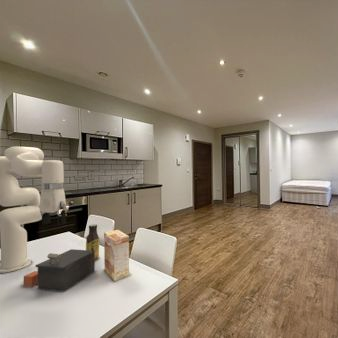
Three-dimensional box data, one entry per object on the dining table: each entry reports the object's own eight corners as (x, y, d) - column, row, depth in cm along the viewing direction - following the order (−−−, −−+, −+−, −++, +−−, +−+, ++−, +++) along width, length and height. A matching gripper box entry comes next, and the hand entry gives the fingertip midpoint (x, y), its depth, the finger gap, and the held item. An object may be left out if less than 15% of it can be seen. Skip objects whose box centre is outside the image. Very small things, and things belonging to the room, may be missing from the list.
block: (23, 286, 85) (23, 276, 85) (34, 280, 90) (34, 270, 90) (31, 286, 85) (31, 276, 85) (42, 281, 89) (42, 271, 89)
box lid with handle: (62, 269, 81) (62, 257, 81) (35, 267, 83) (35, 255, 83) (94, 252, 97) (94, 242, 97) (71, 250, 99) (71, 241, 99)
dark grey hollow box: (64, 291, 82) (64, 268, 82) (37, 288, 84) (37, 266, 84) (94, 271, 97) (94, 252, 97) (71, 269, 99) (71, 250, 99)
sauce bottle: (92, 263, 106) (91, 227, 106) (82, 262, 107) (82, 226, 107) (101, 257, 112) (101, 223, 112) (93, 256, 114) (92, 223, 114)
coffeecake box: (103, 270, 98) (103, 232, 98) (118, 264, 104) (118, 229, 104) (113, 281, 88) (113, 239, 88) (129, 275, 93) (129, 235, 93)
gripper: (30, 187, 87) (30, 225, 87) (58, 187, 82) (58, 227, 82) (49, 186, 94) (49, 221, 94) (75, 186, 89) (76, 222, 89)
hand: (53, 224), depth 88 cm, fingers open, 9 cm apart
